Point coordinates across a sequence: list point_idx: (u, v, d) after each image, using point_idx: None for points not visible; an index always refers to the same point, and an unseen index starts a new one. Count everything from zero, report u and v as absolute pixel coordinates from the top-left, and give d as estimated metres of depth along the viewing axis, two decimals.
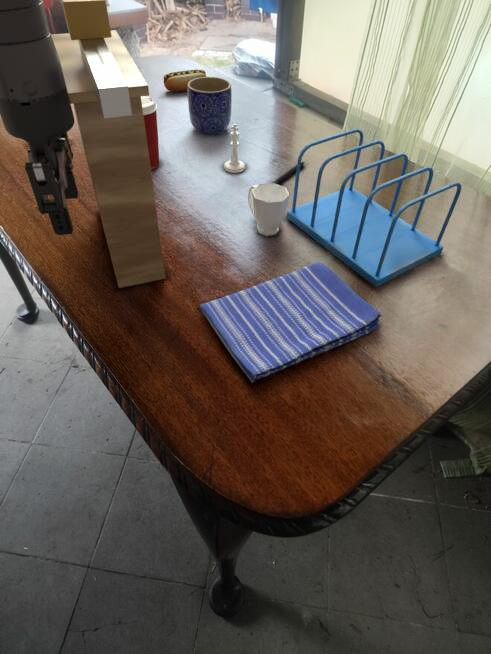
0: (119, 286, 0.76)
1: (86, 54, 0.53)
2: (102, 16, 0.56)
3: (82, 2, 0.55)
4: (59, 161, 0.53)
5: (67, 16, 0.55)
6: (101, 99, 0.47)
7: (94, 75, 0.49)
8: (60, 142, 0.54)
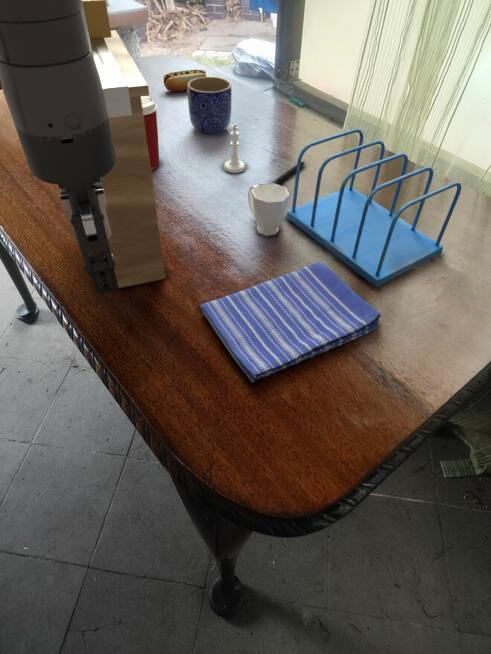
0: (119, 286, 0.76)
1: None
2: (102, 16, 0.56)
3: (82, 2, 0.55)
4: (101, 206, 0.42)
5: None
6: None
7: None
8: (95, 182, 0.43)
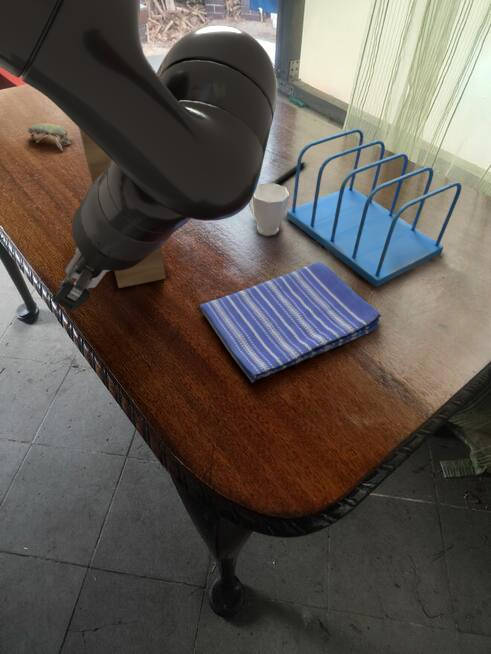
0: (119, 286, 0.76)
1: None
2: None
3: None
4: None
5: None
6: None
7: None
8: None
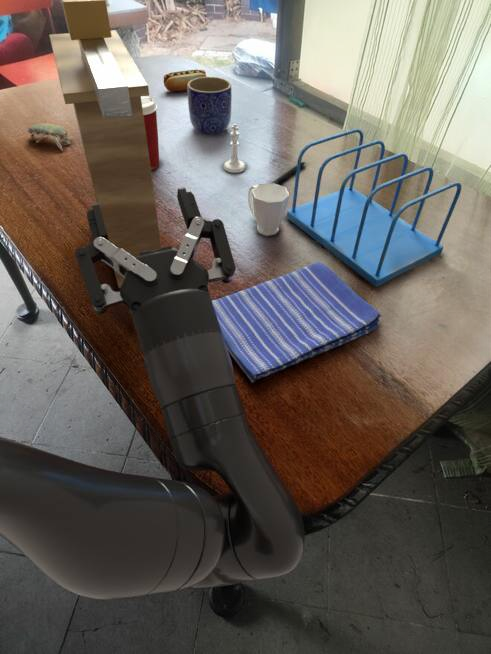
0: (119, 286, 0.76)
1: (86, 54, 0.53)
2: (102, 16, 0.56)
3: (82, 2, 0.55)
4: None
5: (67, 16, 0.55)
6: (101, 99, 0.47)
7: (94, 75, 0.49)
8: None
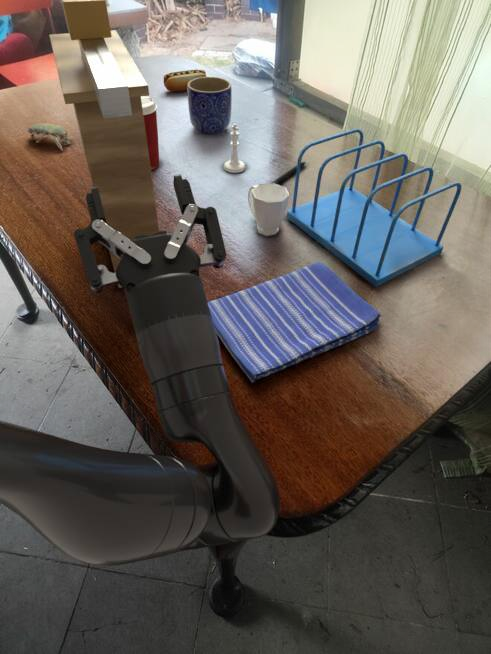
0: (119, 286, 0.76)
1: (86, 54, 0.53)
2: (102, 16, 0.56)
3: (82, 2, 0.55)
4: None
5: (67, 16, 0.55)
6: (101, 99, 0.47)
7: (94, 75, 0.49)
8: None
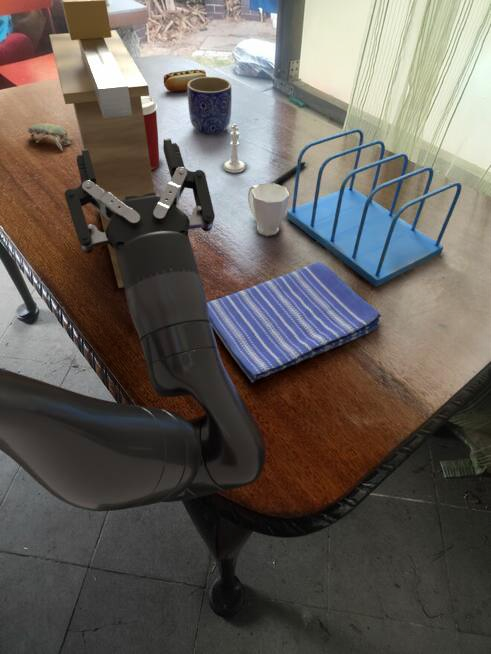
0: (119, 286, 0.76)
1: (86, 54, 0.53)
2: (102, 16, 0.56)
3: (82, 2, 0.55)
4: None
5: (67, 16, 0.55)
6: (101, 99, 0.47)
7: (94, 75, 0.49)
8: None
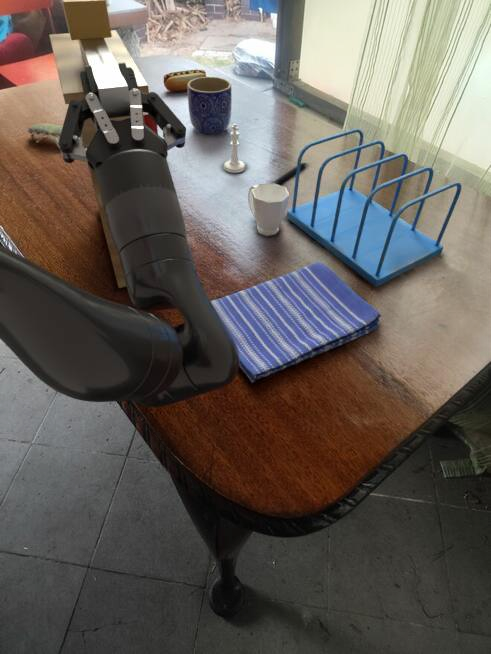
0: (119, 286, 0.76)
1: (86, 54, 0.53)
2: (103, 16, 0.56)
3: (83, 2, 0.55)
4: None
5: (67, 16, 0.55)
6: (101, 99, 0.47)
7: (94, 75, 0.49)
8: None
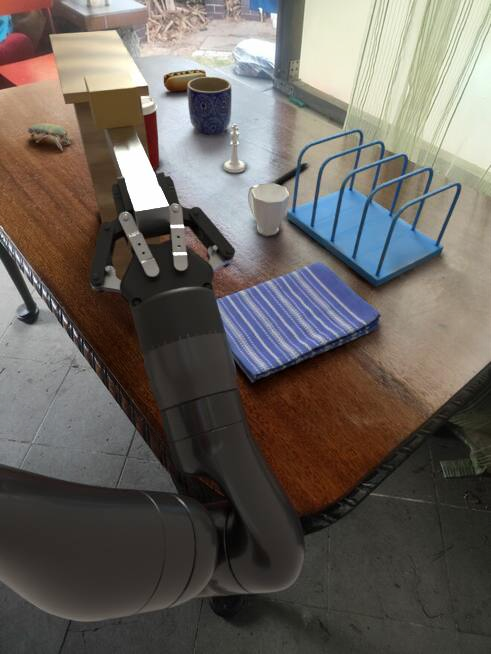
0: None
1: (116, 153, 0.46)
2: (133, 103, 0.49)
3: (111, 90, 0.48)
4: None
5: (93, 106, 0.48)
6: (138, 221, 0.40)
7: (128, 188, 0.42)
8: None
